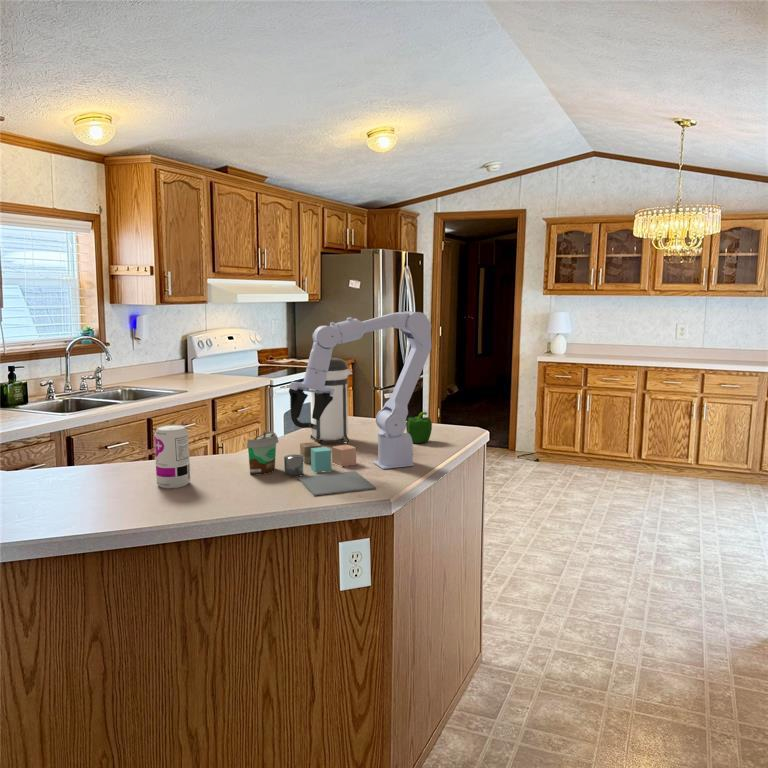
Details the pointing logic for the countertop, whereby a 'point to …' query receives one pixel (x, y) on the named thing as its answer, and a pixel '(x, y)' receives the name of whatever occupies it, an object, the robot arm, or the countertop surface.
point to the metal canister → (293, 465)
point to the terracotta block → (344, 455)
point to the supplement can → (172, 456)
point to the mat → (336, 483)
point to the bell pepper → (419, 428)
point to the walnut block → (307, 450)
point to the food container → (262, 453)
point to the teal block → (320, 459)
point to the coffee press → (331, 406)
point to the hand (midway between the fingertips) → (305, 418)
